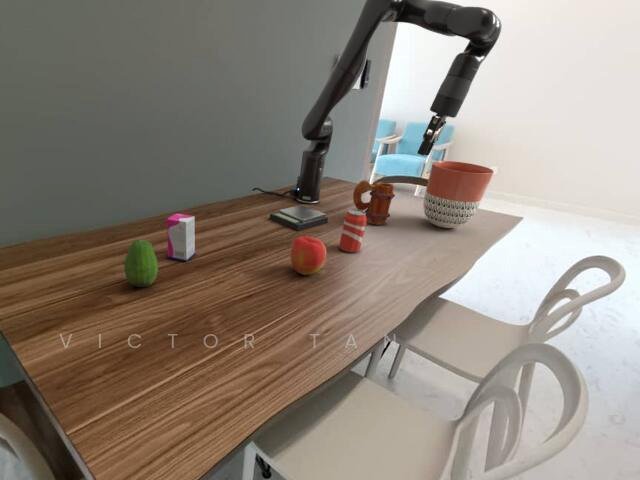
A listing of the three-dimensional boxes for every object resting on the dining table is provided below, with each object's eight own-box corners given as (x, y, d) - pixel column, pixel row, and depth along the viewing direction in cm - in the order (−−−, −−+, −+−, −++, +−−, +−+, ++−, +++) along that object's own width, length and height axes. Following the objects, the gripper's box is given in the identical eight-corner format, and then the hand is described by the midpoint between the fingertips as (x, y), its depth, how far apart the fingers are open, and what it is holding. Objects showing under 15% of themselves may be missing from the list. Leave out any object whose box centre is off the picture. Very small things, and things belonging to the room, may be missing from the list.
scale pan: (278, 212, 143) (278, 210, 143) (300, 207, 150) (301, 205, 150) (303, 221, 136) (303, 219, 135) (325, 216, 143) (325, 213, 142)
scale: (269, 218, 143) (269, 212, 142) (299, 211, 152) (299, 205, 151) (297, 230, 134) (298, 224, 133) (327, 222, 143) (328, 216, 142)
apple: (314, 284, 101) (320, 248, 96) (281, 273, 105) (285, 239, 100) (327, 271, 108) (334, 237, 103) (296, 261, 112) (300, 228, 107)
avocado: (161, 291, 94) (158, 244, 88) (126, 294, 92) (121, 247, 85) (157, 276, 100) (154, 231, 94) (125, 278, 98) (120, 233, 92)
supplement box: (195, 254, 113) (195, 215, 107) (186, 262, 108) (185, 222, 102) (177, 250, 115) (176, 212, 109) (167, 258, 110) (165, 218, 104)
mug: (385, 220, 149) (395, 180, 142) (390, 227, 142) (401, 185, 135) (346, 216, 150) (354, 176, 142) (349, 224, 143) (358, 182, 135)
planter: (470, 223, 152) (491, 166, 141) (472, 239, 136) (496, 176, 125) (416, 213, 158) (433, 158, 147) (413, 228, 143) (431, 167, 132)
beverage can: (362, 249, 123) (371, 212, 117) (352, 255, 119) (361, 216, 113) (345, 243, 126) (353, 207, 120) (335, 249, 122) (342, 211, 116)
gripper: (440, 96, 118) (414, 151, 126) (434, 89, 107) (406, 150, 114) (465, 103, 115) (437, 158, 123) (462, 96, 104) (432, 158, 111)
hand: (422, 154), depth 119 cm, fingers open, 8 cm apart
